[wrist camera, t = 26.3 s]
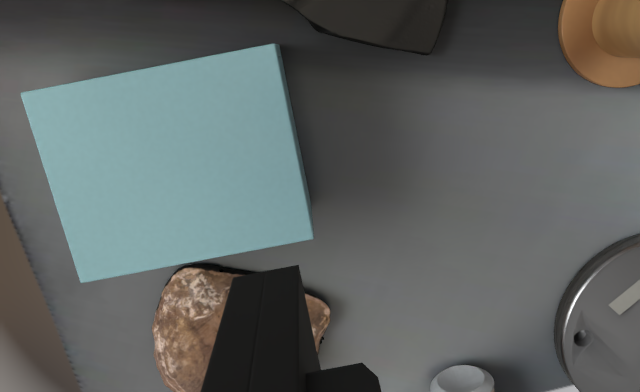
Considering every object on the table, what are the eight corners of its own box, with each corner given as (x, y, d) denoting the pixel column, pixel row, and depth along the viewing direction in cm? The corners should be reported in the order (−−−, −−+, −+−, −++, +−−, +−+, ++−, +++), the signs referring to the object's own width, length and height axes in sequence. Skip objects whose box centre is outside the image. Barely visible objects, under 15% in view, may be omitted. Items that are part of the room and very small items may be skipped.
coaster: (712, 23, 40) (718, 22, 39) (608, 113, 41) (613, 114, 40) (637, -81, 38) (642, -83, 37) (531, 18, 39) (534, 17, 38)
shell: (291, 422, 46) (290, 452, 43) (137, 380, 45) (123, 408, 41) (338, 296, 44) (341, 318, 40) (176, 248, 42) (165, 266, 39)
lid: (85, 278, 35) (80, 283, 35) (26, 91, 32) (19, 92, 32) (313, 235, 35) (314, 239, 34) (275, 43, 32) (274, 43, 31)
